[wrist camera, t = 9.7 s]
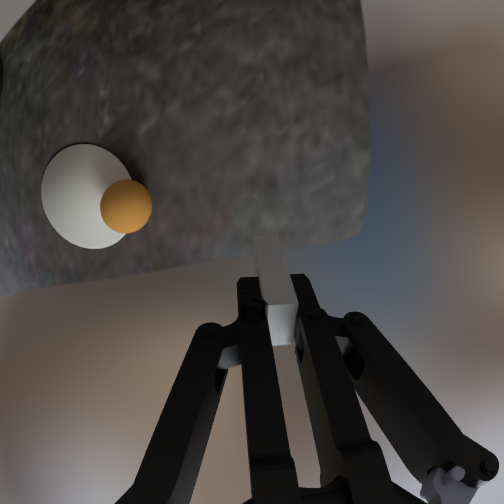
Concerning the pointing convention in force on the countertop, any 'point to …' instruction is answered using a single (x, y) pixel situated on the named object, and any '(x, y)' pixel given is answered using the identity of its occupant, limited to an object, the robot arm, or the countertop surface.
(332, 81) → the countertop surface
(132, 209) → the ball
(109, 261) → the countertop surface
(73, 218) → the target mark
